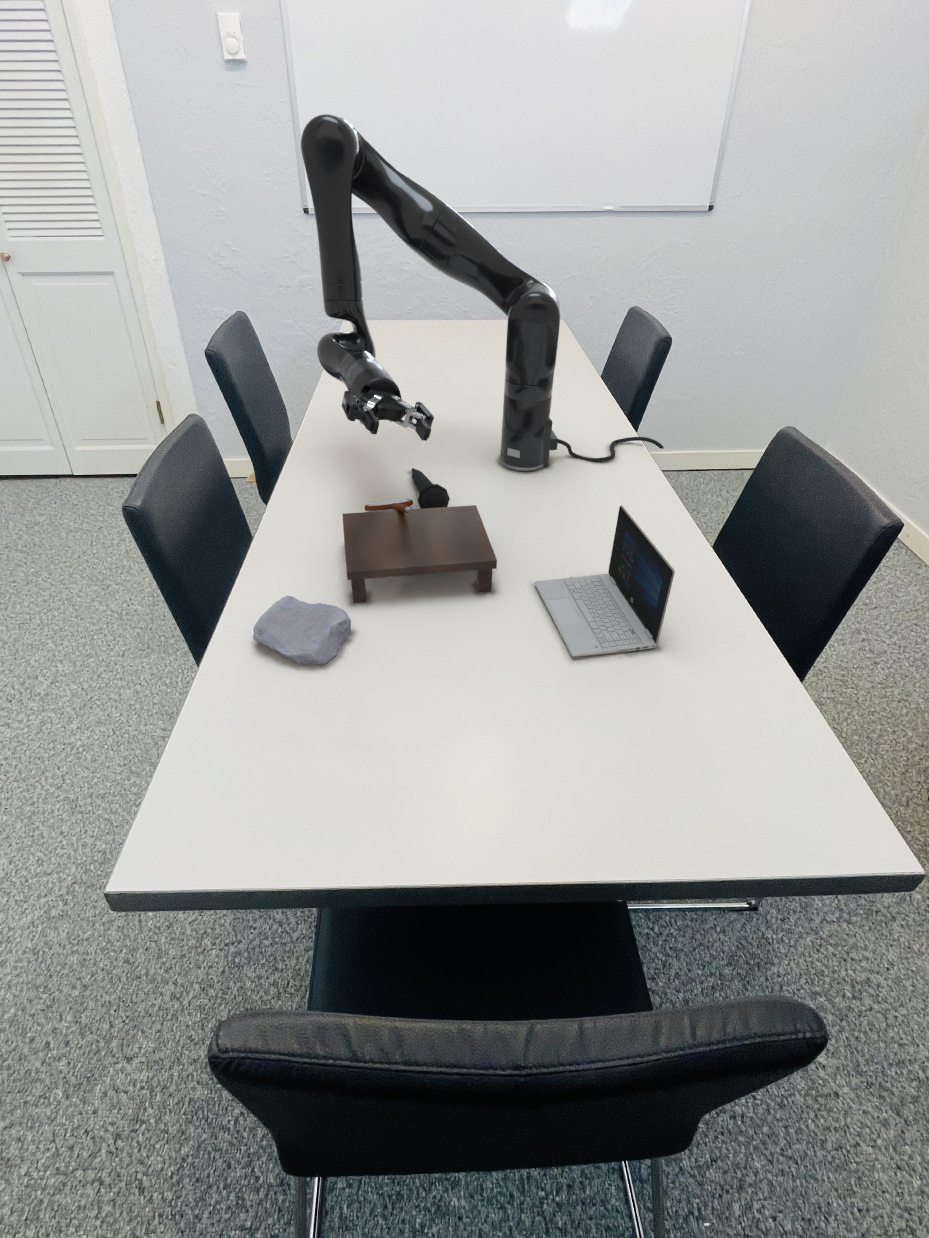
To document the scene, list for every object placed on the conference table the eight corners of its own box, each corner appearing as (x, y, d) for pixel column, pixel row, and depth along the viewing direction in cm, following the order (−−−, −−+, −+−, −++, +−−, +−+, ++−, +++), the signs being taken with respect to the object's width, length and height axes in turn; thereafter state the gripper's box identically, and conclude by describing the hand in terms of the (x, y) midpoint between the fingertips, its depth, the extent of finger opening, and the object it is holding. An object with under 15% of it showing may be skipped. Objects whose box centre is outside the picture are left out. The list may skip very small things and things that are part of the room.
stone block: (325, 680, 95) (357, 626, 101) (317, 658, 91) (350, 603, 97) (249, 661, 98) (284, 610, 104) (238, 639, 94) (275, 587, 101)
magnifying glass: (380, 507, 109) (360, 502, 128) (382, 518, 110) (361, 512, 128) (434, 500, 111) (406, 496, 130) (435, 511, 112) (407, 505, 131)
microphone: (405, 487, 142) (428, 525, 125) (394, 462, 138) (417, 497, 122) (430, 477, 142) (456, 513, 125) (420, 450, 139) (446, 484, 122)
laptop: (533, 585, 110) (540, 511, 103) (609, 577, 113) (622, 504, 105) (571, 660, 97) (583, 581, 89) (657, 648, 99) (676, 570, 91)
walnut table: (474, 536, 122) (476, 505, 118) (495, 593, 109) (497, 560, 105) (345, 545, 119) (342, 513, 115) (349, 605, 105) (346, 571, 102)
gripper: (335, 360, 116) (363, 403, 105) (415, 374, 122) (449, 415, 111) (327, 403, 120) (353, 449, 109) (404, 414, 127) (436, 458, 116)
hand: (401, 432), depth 110 cm, fingers open, 8 cm apart
